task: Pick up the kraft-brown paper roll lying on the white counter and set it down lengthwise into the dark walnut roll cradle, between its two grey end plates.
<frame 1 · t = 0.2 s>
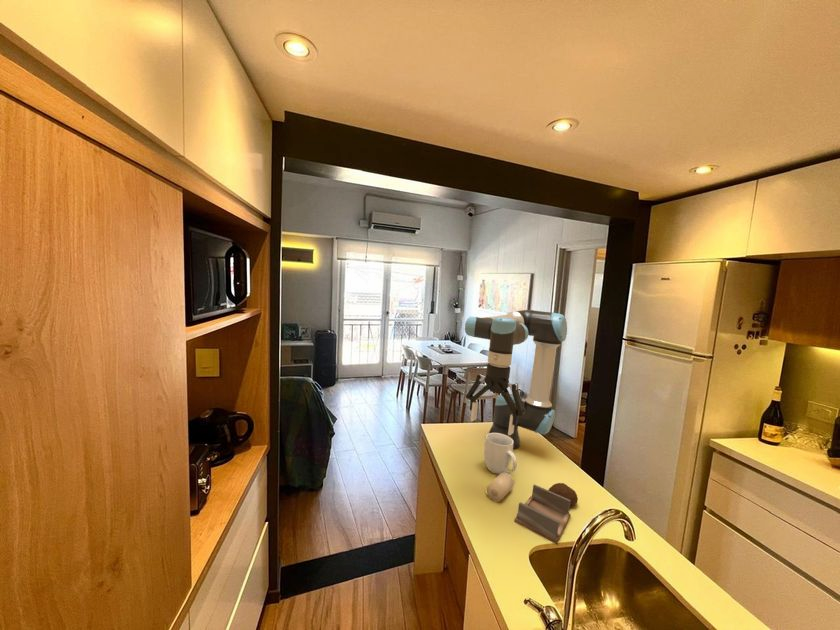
hand: (491, 426, 112), 27 cm above the counter, fingers open, 13 cm apart
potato: (561, 503, 118), on the counter
cradle: (542, 519, 108), on the counter
mug: (497, 471, 135), on the counter
roll: (499, 494, 120), on the counter
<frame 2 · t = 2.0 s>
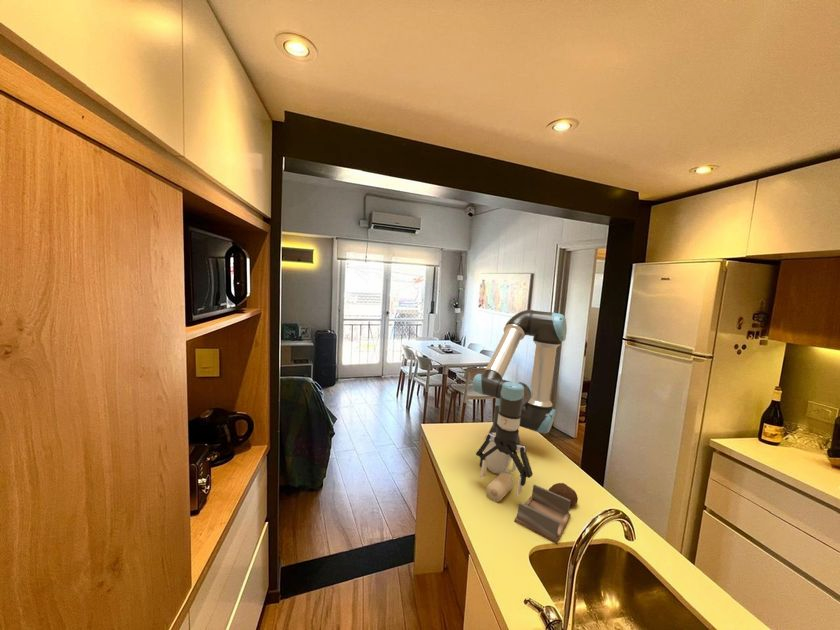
hand: (500, 484, 119), 4 cm above the counter, fingers open, 13 cm apart
nothing on the counter moved.
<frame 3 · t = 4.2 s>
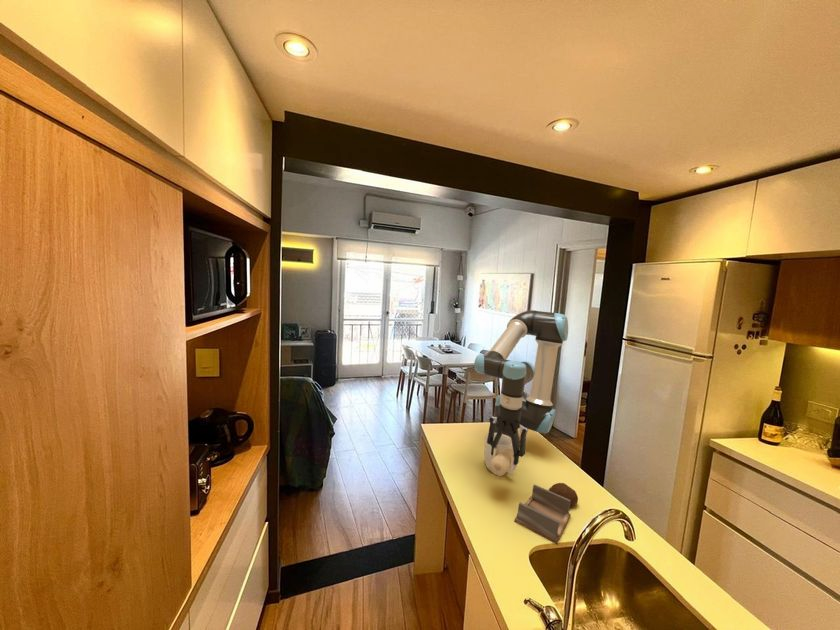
hand: (503, 468, 119), 10 cm above the counter, fingers closed on roll, 6 cm apart
roll: (503, 469, 119), point 9 cm above the counter, tilted 6°, touching gripper
everything else where it was.
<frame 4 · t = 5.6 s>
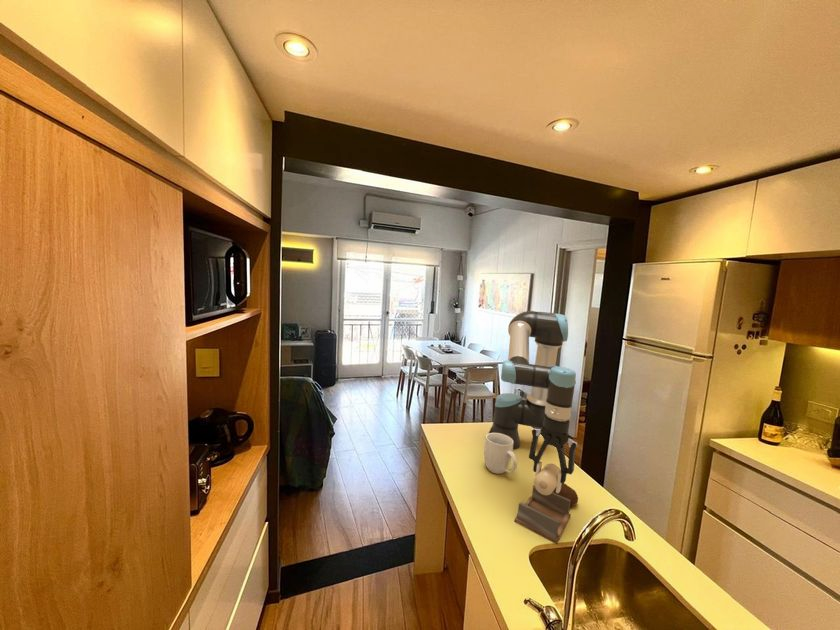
hand: (547, 486, 107), 11 cm above the counter, fingers closed on roll, 6 cm apart
roll: (548, 488, 107), point 11 cm above the counter, tilted 6°, touching gripper
everything else where it was.
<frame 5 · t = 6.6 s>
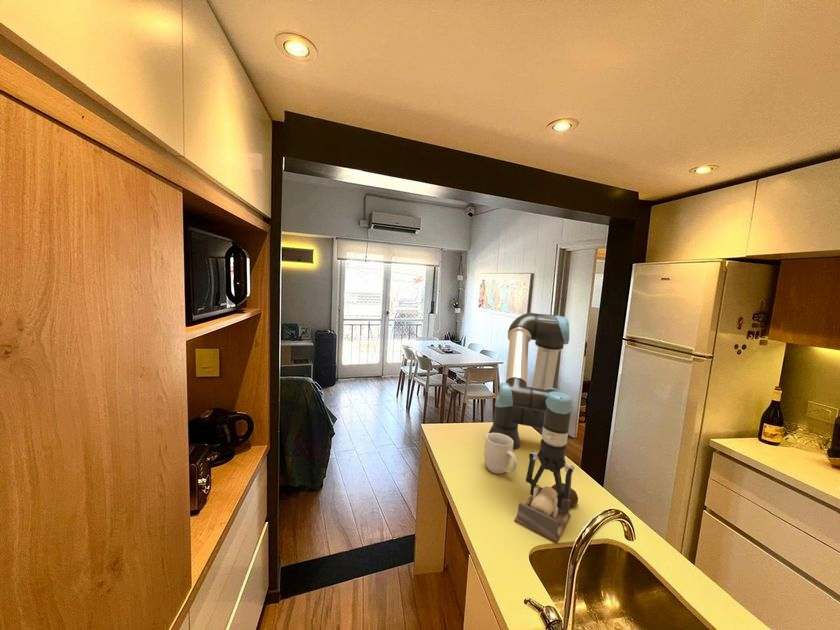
hand: (544, 510, 108), 3 cm above the counter, fingers closed on roll, 6 cm apart
roll: (544, 511, 108), point 3 cm above the counter, tilted 6°, touching gripper
everything else where it was.
when the fingers open (2 cm above the counter, at t = 7.1 s): roll stays where it is, resting on cradle.
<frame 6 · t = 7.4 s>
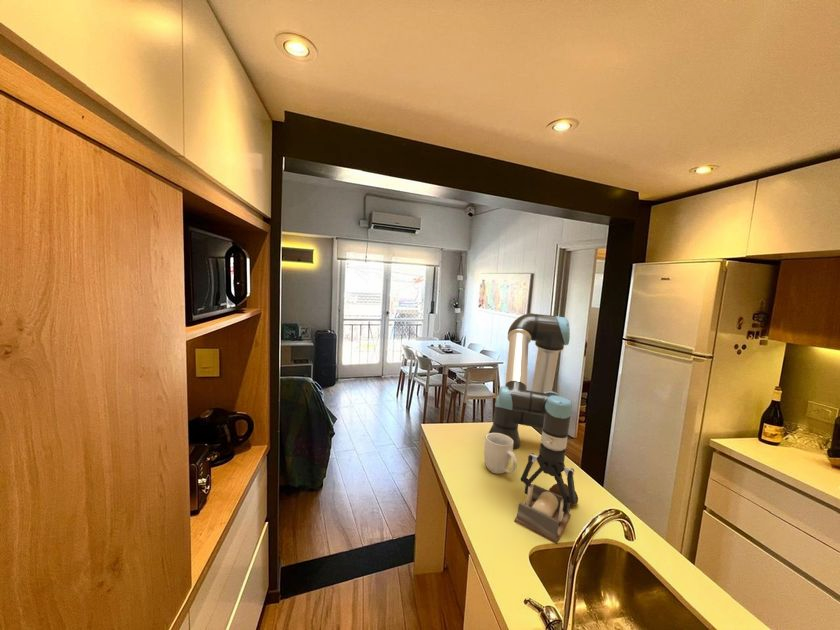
hand: (543, 511, 108), 3 cm above the counter, fingers open, 9 cm apart
roll: (544, 517, 108), point 1 cm above the counter, tilted 5°, touching cradle
everything else where it was.
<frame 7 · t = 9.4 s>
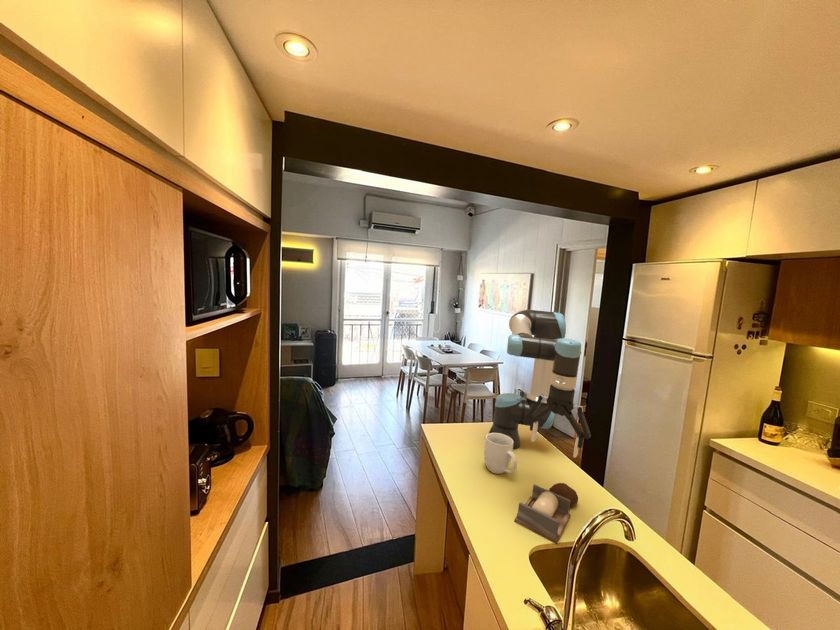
hand: (553, 447, 112), 22 cm above the counter, fingers open, 13 cm apart
nothing on the counter moved.
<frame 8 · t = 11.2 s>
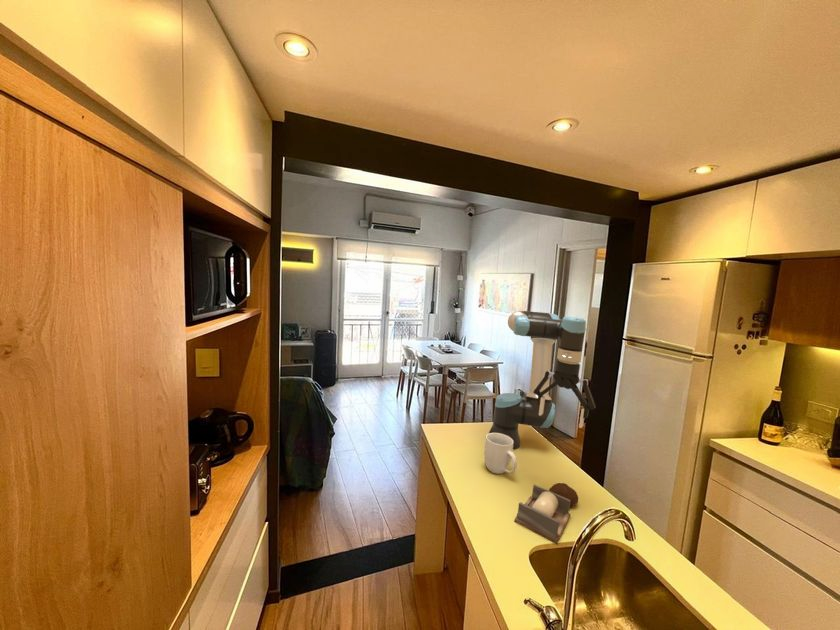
hand: (560, 420, 118), 29 cm above the counter, fingers open, 13 cm apart
nothing on the counter moved.
at the end: roll inside the target area on the cradle (0.4 cm from its centre), point 1.0 cm above the cradle's base; the gripper is holding nothing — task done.
